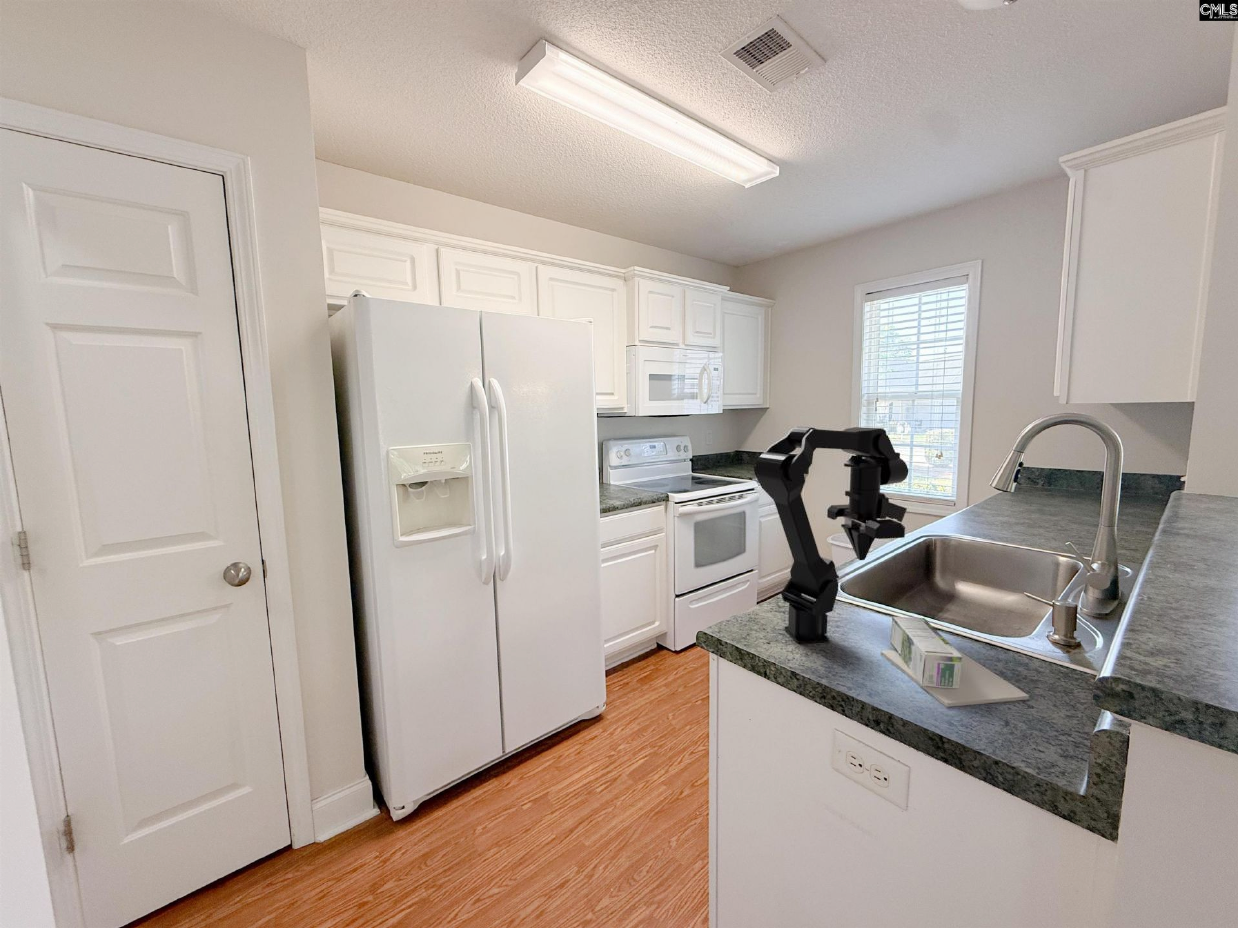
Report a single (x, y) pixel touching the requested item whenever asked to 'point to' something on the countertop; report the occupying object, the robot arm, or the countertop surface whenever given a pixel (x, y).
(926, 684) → the syrup box
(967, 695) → the rubber mat
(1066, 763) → the countertop surface
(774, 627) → the countertop surface
